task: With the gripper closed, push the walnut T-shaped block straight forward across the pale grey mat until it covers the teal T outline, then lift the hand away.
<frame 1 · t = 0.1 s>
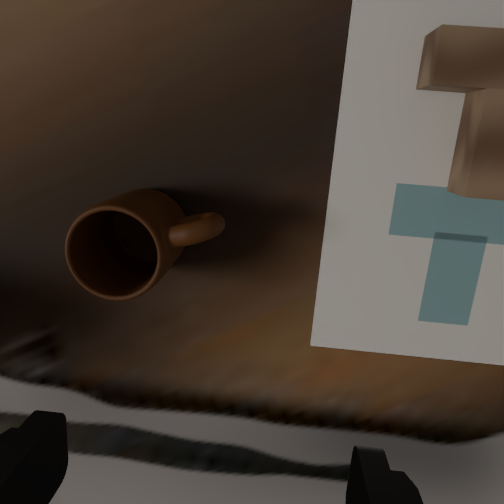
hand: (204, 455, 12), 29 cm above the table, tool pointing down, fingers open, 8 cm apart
mat: (468, 192, 38), on the table
mug: (173, 221, 41), on the table
t block: (485, 120, 36), resting on mat
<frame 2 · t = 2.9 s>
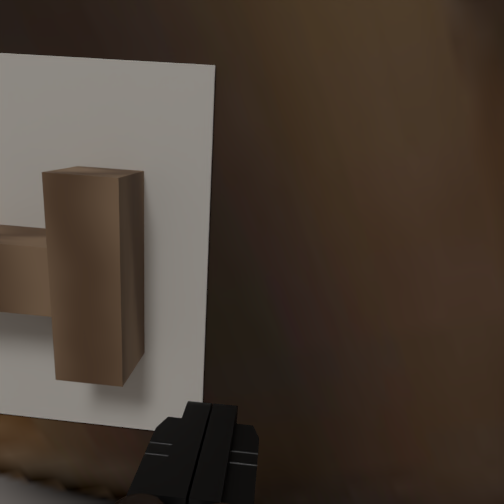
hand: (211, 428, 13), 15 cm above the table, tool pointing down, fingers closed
t block: (51, 259, 28), resting on mat
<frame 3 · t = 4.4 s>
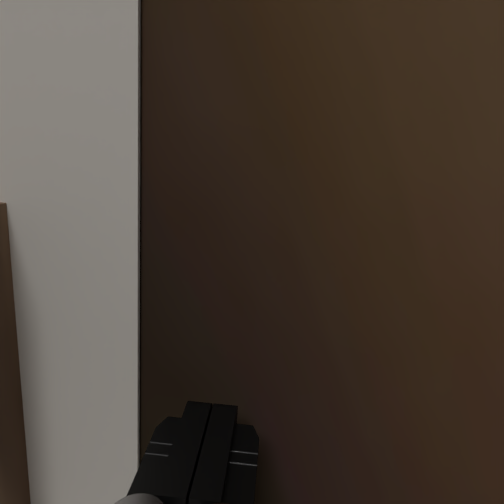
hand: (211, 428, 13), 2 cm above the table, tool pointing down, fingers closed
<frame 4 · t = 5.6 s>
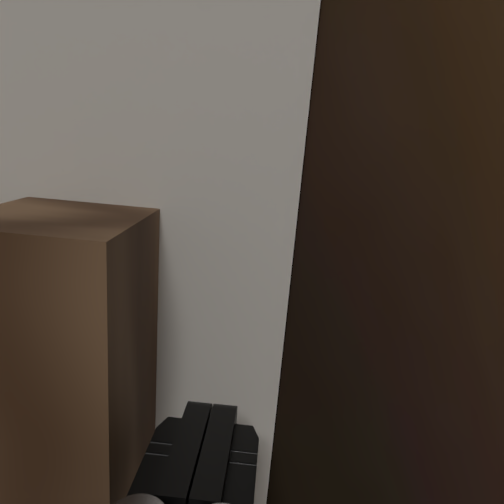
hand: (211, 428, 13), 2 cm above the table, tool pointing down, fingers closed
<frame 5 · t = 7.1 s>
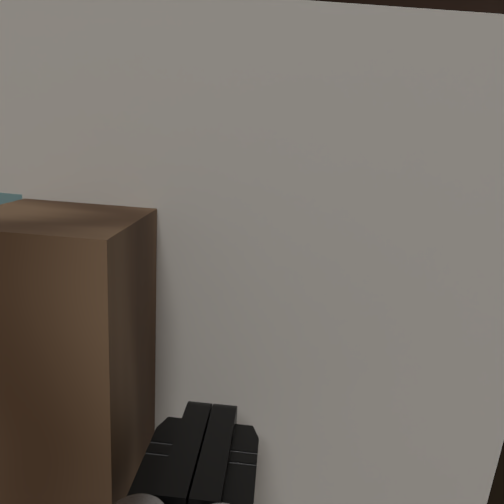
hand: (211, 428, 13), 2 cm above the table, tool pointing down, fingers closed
mat: (27, 377, 15), on the table
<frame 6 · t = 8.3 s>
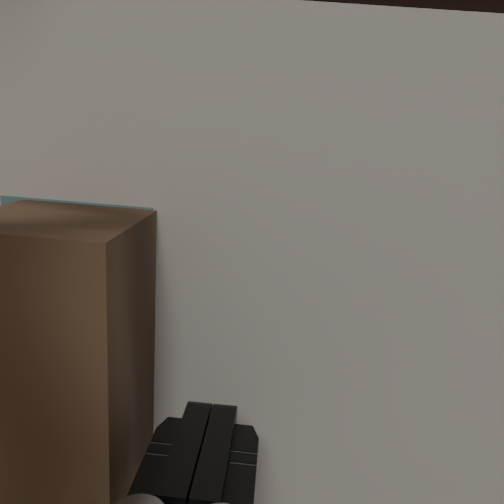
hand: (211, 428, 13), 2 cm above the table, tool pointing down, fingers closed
mat: (143, 390, 15), on the table
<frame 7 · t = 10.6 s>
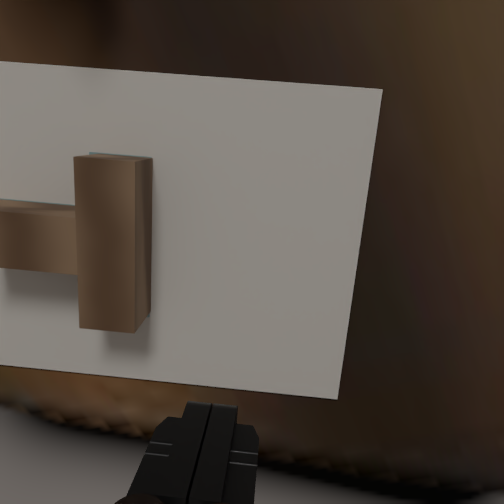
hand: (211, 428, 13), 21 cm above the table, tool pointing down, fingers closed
mat: (147, 240, 33), on the table
t block: (74, 231, 33), resting on mat
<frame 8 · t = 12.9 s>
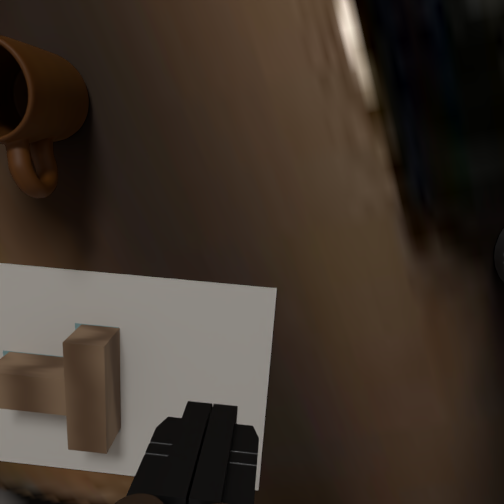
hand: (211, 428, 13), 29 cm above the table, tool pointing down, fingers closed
mat: (117, 380, 47), on the table
mug: (61, 123, 40), on the table
t block: (65, 374, 47), resting on mat
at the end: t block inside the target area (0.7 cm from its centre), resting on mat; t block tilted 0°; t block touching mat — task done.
